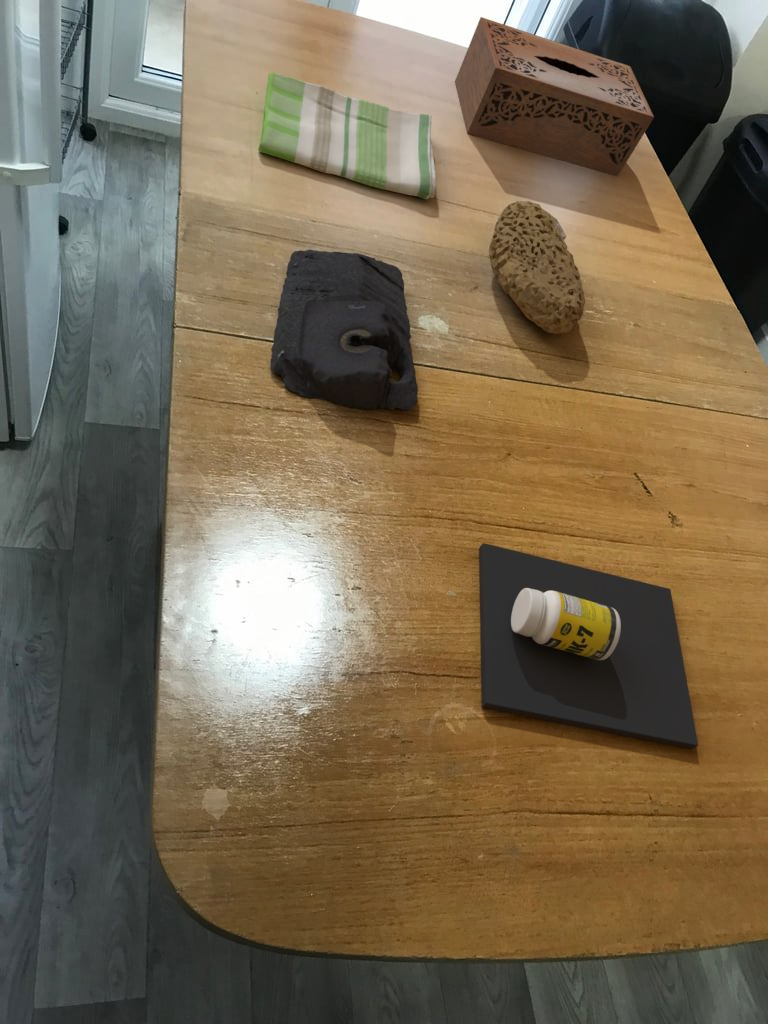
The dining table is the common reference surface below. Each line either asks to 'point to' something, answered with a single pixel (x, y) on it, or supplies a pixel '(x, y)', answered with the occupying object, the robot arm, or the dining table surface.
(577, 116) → the tissue box cover
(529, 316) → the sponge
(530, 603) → the supplement bottle
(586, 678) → the mat
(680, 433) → the dining table surface
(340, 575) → the dining table surface
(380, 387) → the dark slate chunk
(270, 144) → the dish towel
